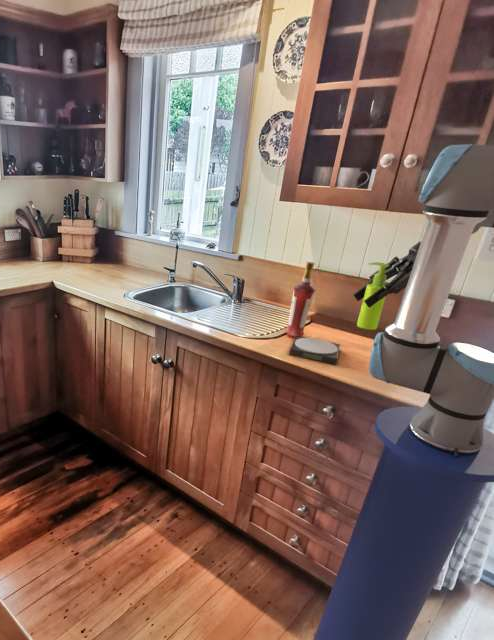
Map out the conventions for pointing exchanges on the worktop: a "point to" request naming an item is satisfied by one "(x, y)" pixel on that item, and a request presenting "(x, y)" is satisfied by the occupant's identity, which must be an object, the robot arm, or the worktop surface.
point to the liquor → (301, 304)
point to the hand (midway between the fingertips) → (361, 300)
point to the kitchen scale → (315, 349)
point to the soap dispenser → (372, 315)
